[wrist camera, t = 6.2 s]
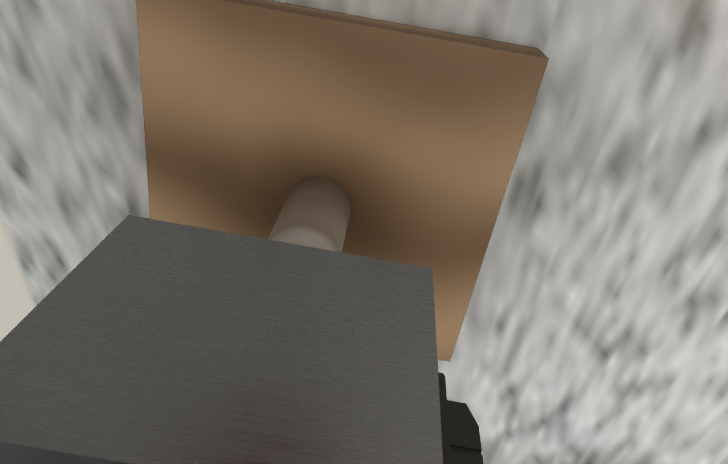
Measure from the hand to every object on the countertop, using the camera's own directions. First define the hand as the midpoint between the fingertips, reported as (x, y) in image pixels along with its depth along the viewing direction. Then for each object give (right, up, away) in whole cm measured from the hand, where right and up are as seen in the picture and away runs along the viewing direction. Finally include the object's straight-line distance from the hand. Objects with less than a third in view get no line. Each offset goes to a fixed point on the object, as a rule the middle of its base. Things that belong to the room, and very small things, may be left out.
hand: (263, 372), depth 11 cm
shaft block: (+1, +5, +8) cm, 9 cm away
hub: (0, 0, +1) cm, 1 cm away
